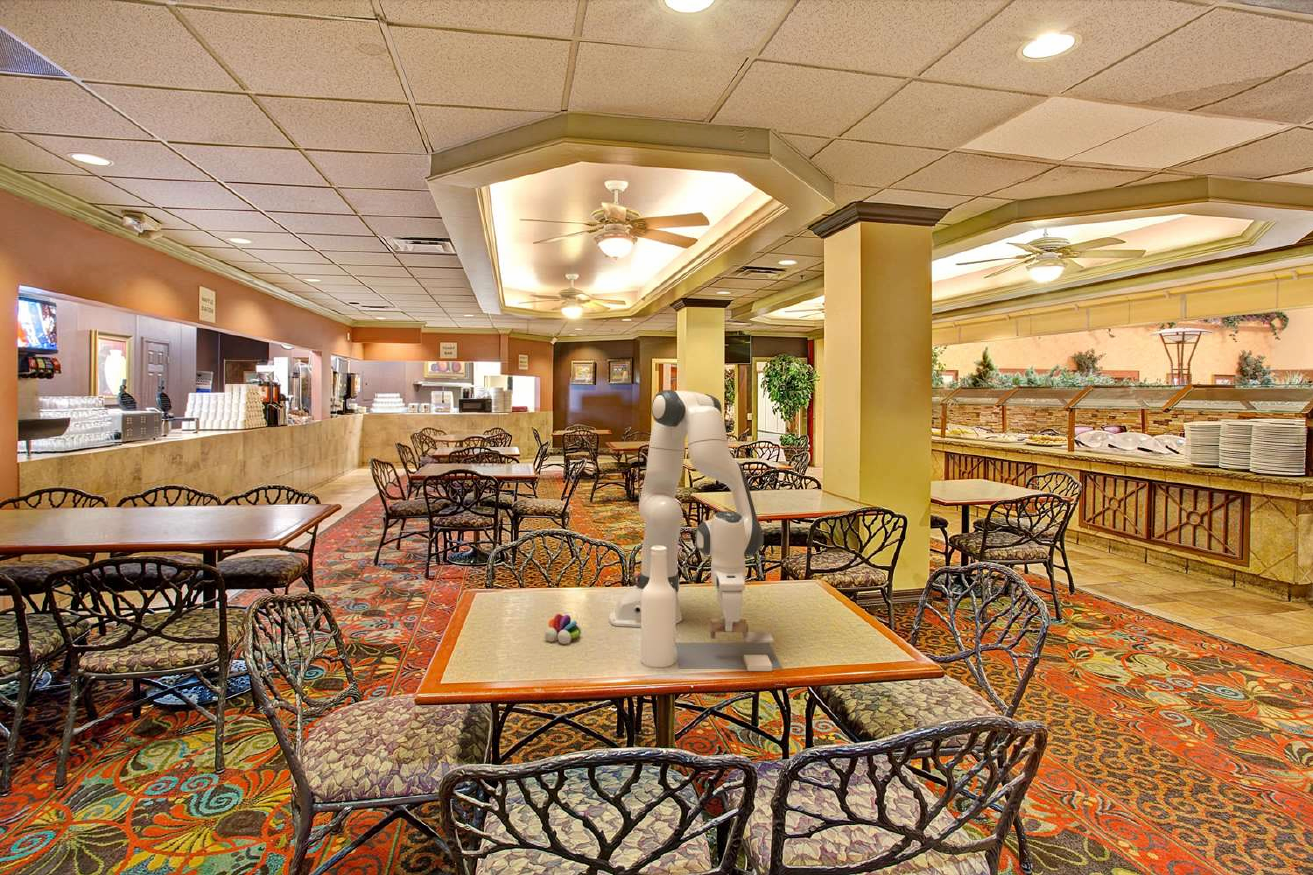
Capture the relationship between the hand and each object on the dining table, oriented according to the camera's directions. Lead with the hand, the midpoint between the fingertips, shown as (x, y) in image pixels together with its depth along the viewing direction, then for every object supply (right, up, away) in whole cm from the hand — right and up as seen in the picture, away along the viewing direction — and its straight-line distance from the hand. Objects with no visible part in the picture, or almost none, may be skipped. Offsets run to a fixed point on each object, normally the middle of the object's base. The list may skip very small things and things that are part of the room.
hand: (727, 627), depth 170 cm
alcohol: (-18, -9, -2) cm, 20 cm away
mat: (0, -8, +2) cm, 8 cm away
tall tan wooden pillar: (+4, -3, 0) cm, 4 cm away
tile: (+7, -7, -2) cm, 10 cm away
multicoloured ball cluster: (-45, -8, +14) cm, 47 cm away
